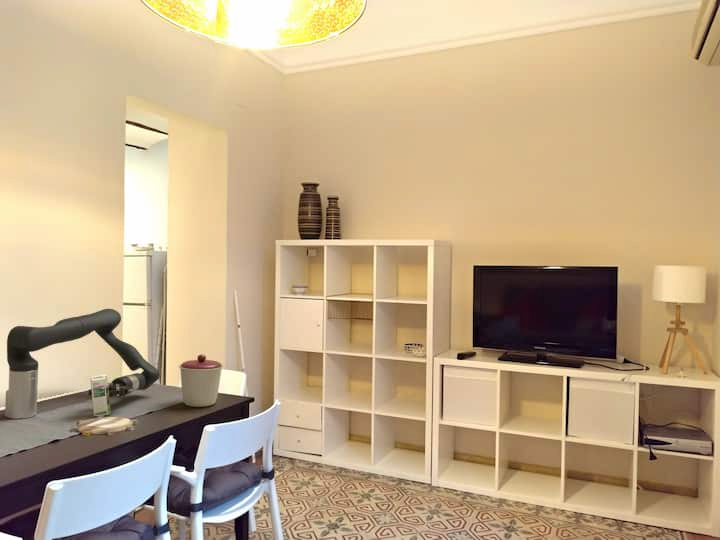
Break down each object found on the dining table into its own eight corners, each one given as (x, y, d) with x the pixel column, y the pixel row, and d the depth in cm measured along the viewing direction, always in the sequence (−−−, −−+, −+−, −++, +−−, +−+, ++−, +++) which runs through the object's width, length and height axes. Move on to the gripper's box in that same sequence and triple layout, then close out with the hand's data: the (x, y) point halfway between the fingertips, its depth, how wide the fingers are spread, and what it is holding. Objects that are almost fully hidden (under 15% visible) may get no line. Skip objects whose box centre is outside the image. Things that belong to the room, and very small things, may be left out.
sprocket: (56, 432, 188) (56, 428, 188) (97, 416, 209) (98, 412, 209) (113, 438, 184) (113, 435, 184) (149, 421, 205) (150, 418, 205)
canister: (174, 400, 237) (176, 351, 237) (217, 398, 245) (219, 350, 245) (180, 411, 221) (182, 358, 221) (225, 408, 229) (227, 357, 229)
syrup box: (94, 417, 207) (91, 380, 205) (93, 412, 212) (90, 376, 210) (110, 414, 210) (107, 377, 208) (109, 409, 215) (106, 373, 213)
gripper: (109, 374, 227) (83, 382, 211) (141, 377, 224) (117, 385, 208) (108, 393, 227) (82, 401, 211) (140, 395, 224) (116, 405, 208)
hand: (99, 393), depth 210 cm, fingers closed on syrup box, 8 cm apart
